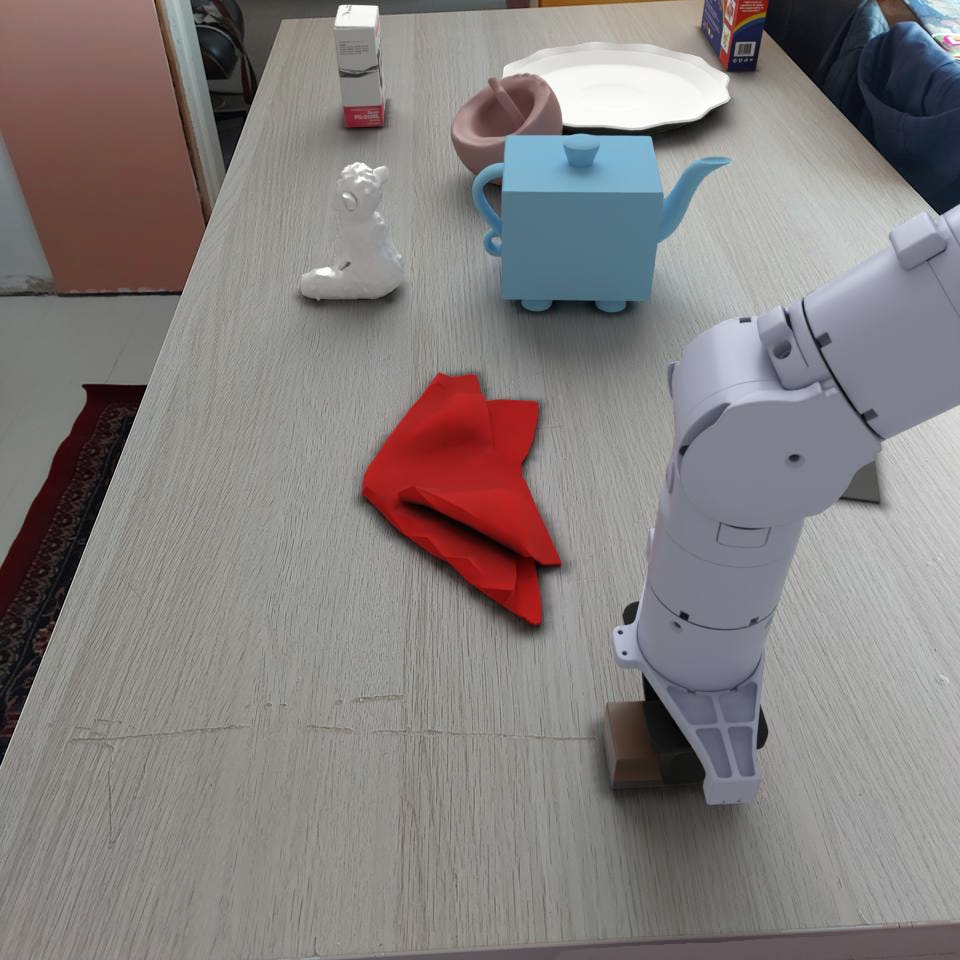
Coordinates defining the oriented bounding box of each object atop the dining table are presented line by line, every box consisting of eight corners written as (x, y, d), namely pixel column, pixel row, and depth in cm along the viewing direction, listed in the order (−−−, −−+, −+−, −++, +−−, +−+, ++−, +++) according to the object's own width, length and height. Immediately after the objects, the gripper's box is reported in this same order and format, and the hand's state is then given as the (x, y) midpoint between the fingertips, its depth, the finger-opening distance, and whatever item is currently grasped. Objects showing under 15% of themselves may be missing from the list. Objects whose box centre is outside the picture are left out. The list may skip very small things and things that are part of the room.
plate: (451, 107, 117) (450, 88, 115) (585, 45, 133) (586, 28, 131) (644, 170, 103) (646, 149, 101) (769, 92, 119) (772, 73, 117)
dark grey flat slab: (869, 430, 70) (869, 429, 69) (879, 503, 64) (880, 501, 64) (801, 422, 70) (802, 420, 70) (806, 493, 65) (806, 491, 65)
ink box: (384, 127, 113) (375, 25, 104) (344, 128, 113) (332, 26, 104) (387, 100, 119) (378, 2, 111) (349, 101, 119) (337, 3, 111)
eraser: (725, 724, 51) (734, 694, 49) (741, 782, 49) (751, 753, 47) (601, 731, 51) (606, 701, 49) (611, 789, 49) (616, 760, 47)
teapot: (470, 315, 82) (466, 167, 72) (476, 252, 90) (474, 112, 80) (717, 318, 81) (746, 169, 71) (701, 254, 89) (725, 113, 80)
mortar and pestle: (434, 170, 104) (429, 66, 96) (526, 148, 107) (528, 46, 100) (483, 214, 96) (481, 104, 88) (580, 189, 100) (587, 81, 92)
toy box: (755, 70, 125) (773, -24, 117) (726, 71, 125) (742, -23, 117) (727, 27, 138) (741, -60, 130) (700, 27, 138) (713, -59, 130)
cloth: (374, 378, 75) (372, 355, 74) (540, 374, 75) (541, 351, 74) (347, 632, 56) (342, 609, 55) (568, 627, 57) (570, 604, 55)
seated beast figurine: (353, 251, 91) (339, 132, 82) (428, 271, 88) (421, 149, 79) (297, 297, 85) (275, 173, 76) (375, 320, 82) (361, 194, 73)
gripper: (598, 469, 45) (581, 636, 54) (654, 729, 34) (621, 881, 44) (740, 462, 45) (699, 630, 54) (838, 719, 35) (767, 873, 44)
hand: (673, 742), depth 49 cm, fingers closed on eraser, 3 cm apart
